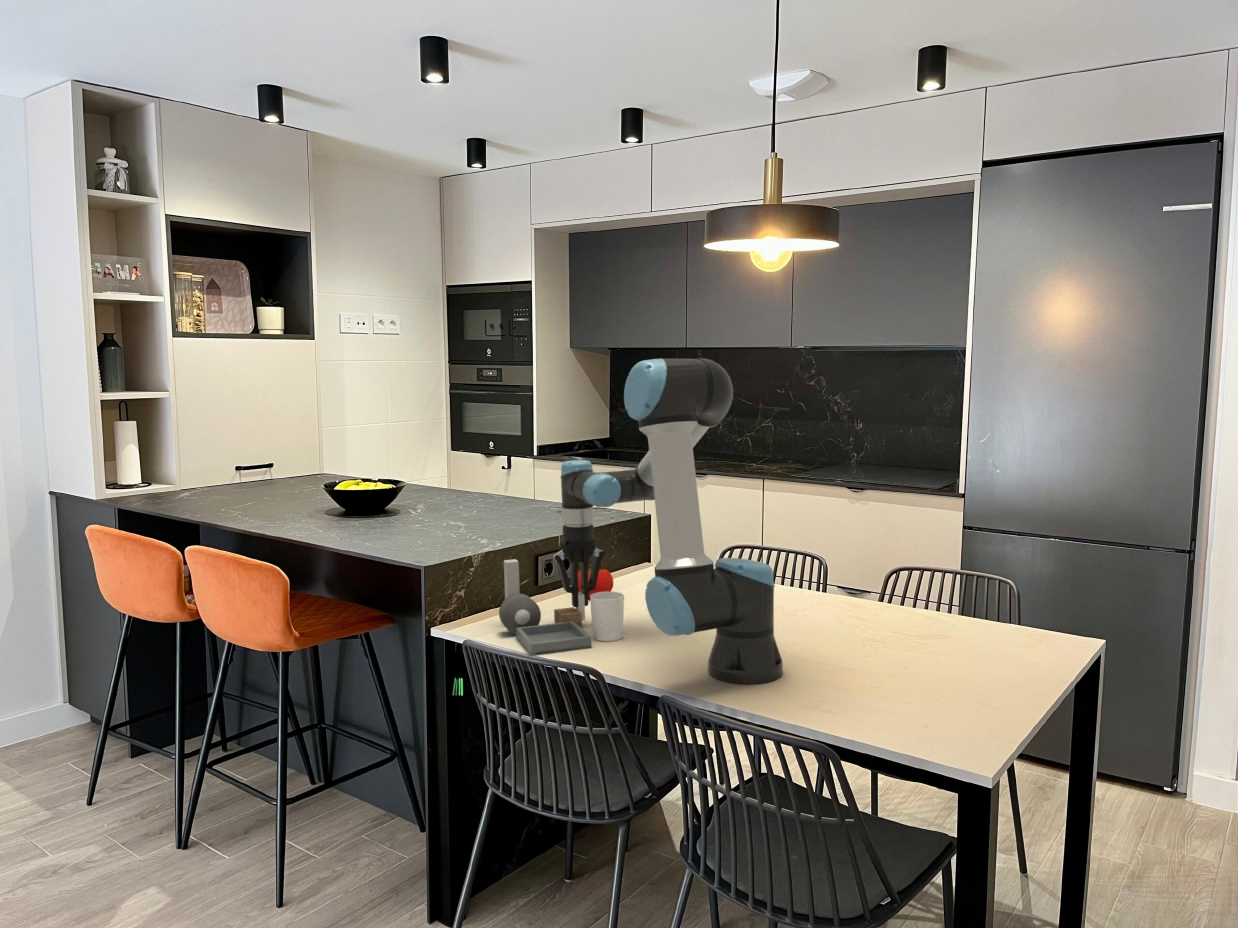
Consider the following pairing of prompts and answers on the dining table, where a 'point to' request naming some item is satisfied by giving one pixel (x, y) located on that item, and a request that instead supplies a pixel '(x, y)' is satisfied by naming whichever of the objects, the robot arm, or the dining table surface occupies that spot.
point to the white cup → (607, 615)
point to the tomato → (599, 582)
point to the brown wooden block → (568, 615)
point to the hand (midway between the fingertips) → (580, 619)
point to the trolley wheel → (516, 601)
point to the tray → (553, 638)
